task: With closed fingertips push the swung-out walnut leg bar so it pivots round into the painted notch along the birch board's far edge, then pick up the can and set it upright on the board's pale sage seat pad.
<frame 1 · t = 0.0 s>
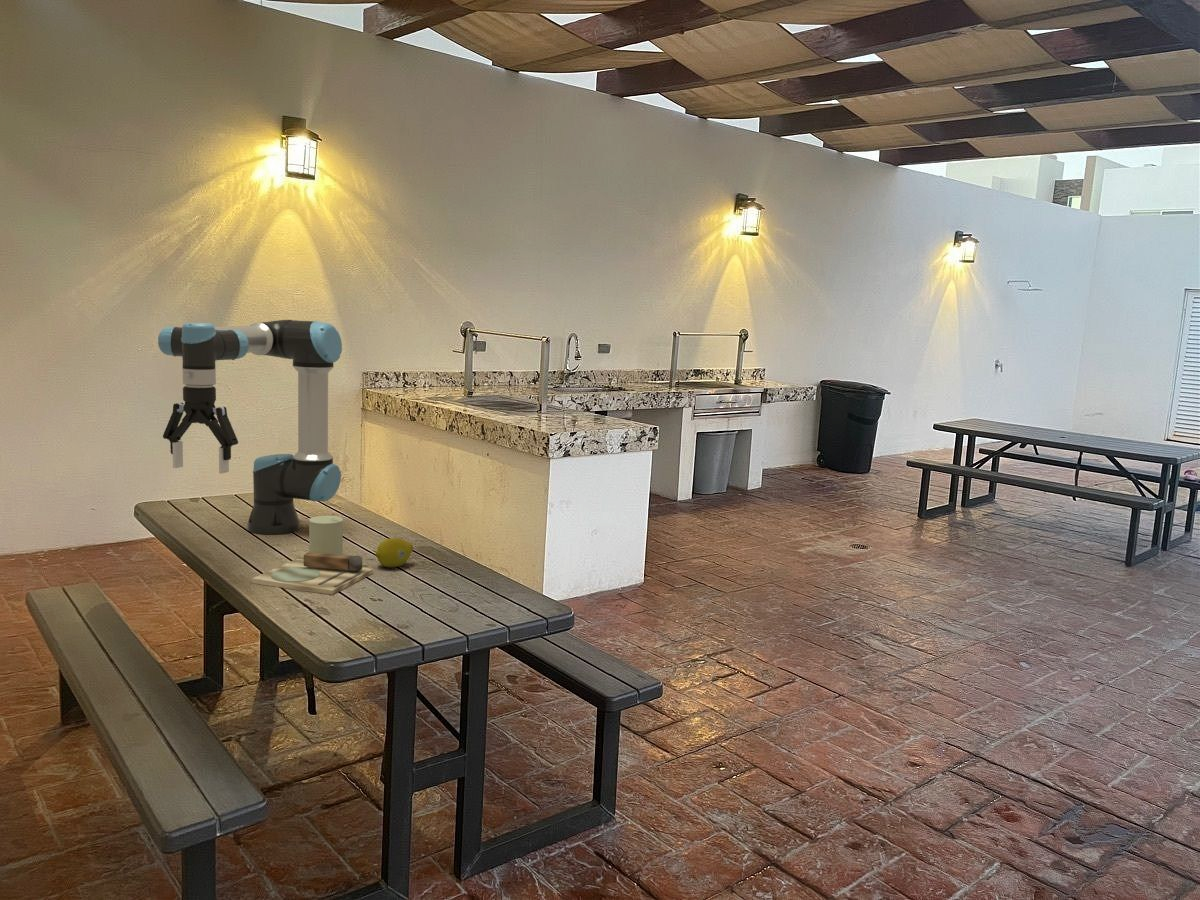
hand: (200, 470, 231), 28 cm above the table, fingers open, 13 cm apart
board: (314, 578, 239), on the table
can: (325, 560, 256), on the table
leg: (333, 561, 243), point 4 cm above the table, hinge at -80.0°
lemon: (394, 567, 253), on the table
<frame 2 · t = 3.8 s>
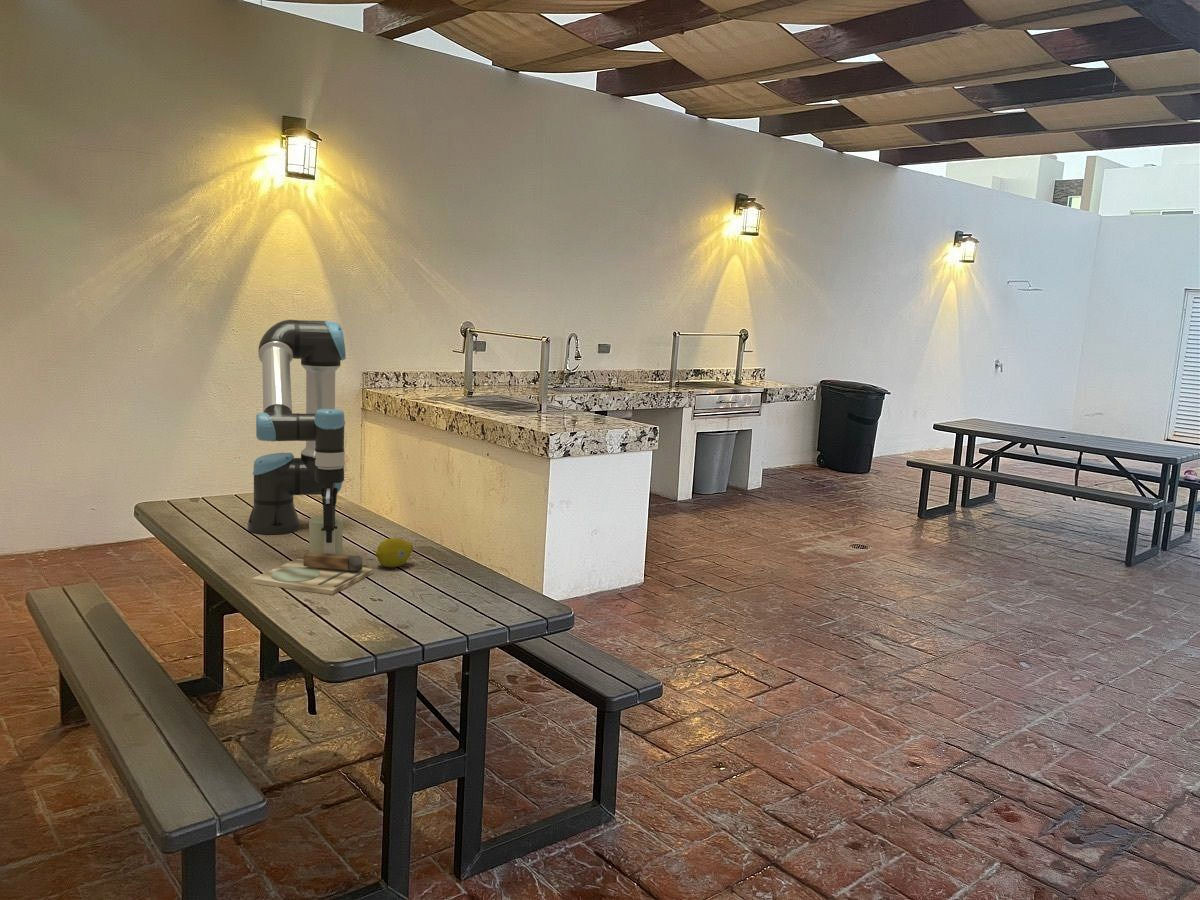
hand: (329, 553, 248), 4 cm above the table, fingers closed
can: (325, 560, 256), on the table, touching hand
everything else where it was.
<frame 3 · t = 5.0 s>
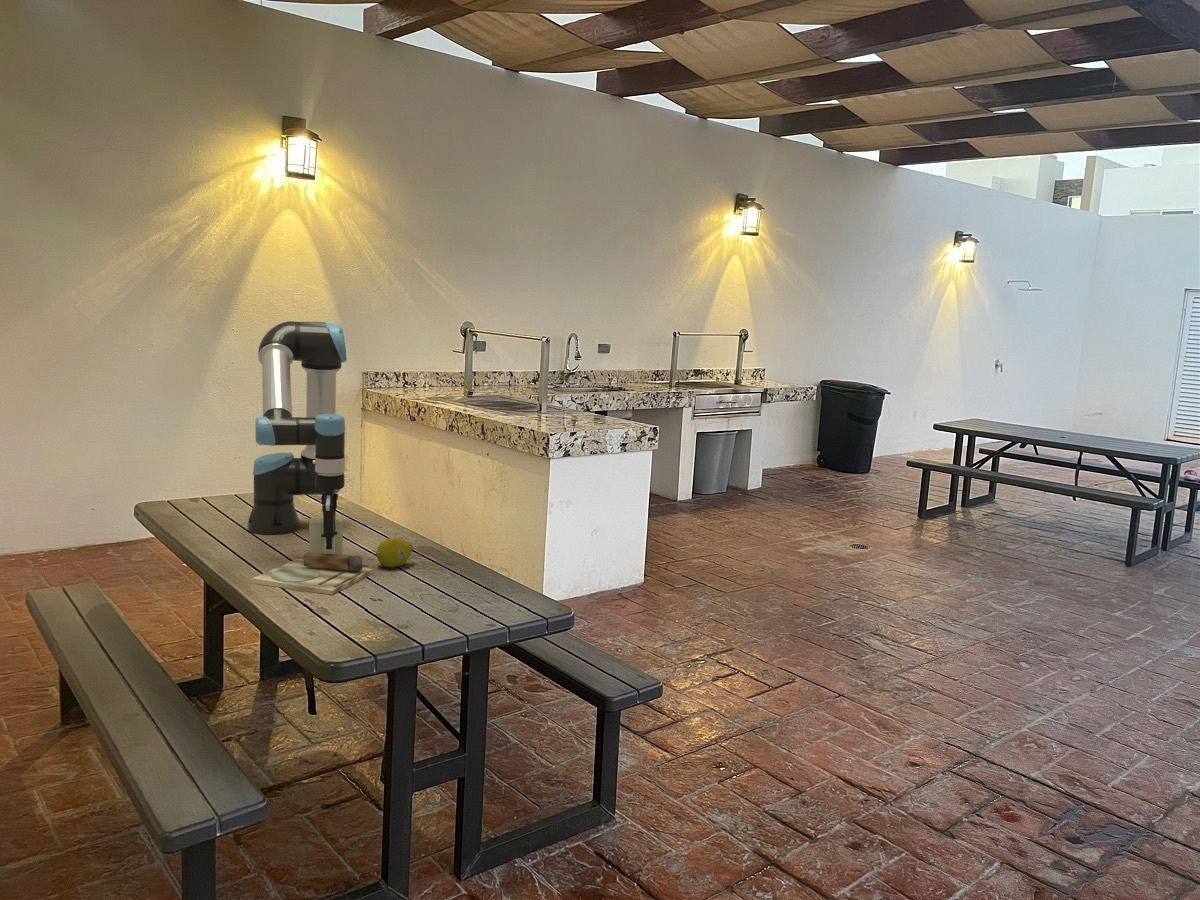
hand: (329, 559, 246), 3 cm above the table, fingers closed
can: (325, 560, 256), on the table
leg: (333, 561, 243), point 4 cm above the table, hinge at -80.0°, touching gripper
everything else where it was.
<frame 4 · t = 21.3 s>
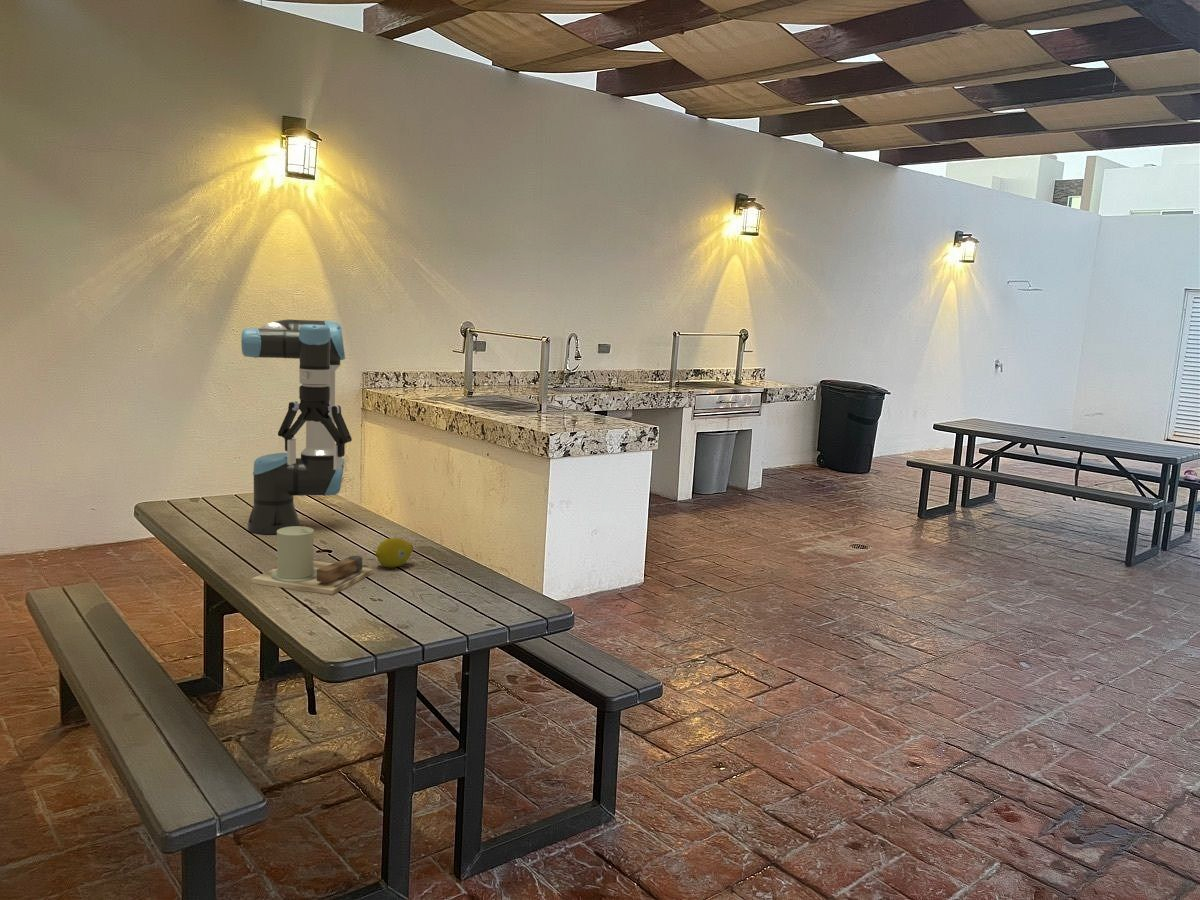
hand: (314, 466, 239), 29 cm above the table, fingers open, 13 cm apart
can: (295, 574, 237), point 1 cm above the table, touching board
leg: (341, 568, 237), point 4 cm above the table, hinge at -7.0°
everything else where it was.
at the end: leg at -7° (first picture: -80°); can 0.1 cm from the target spot on the board, point 1.3 cm above the board's base; can tilted 0° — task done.
